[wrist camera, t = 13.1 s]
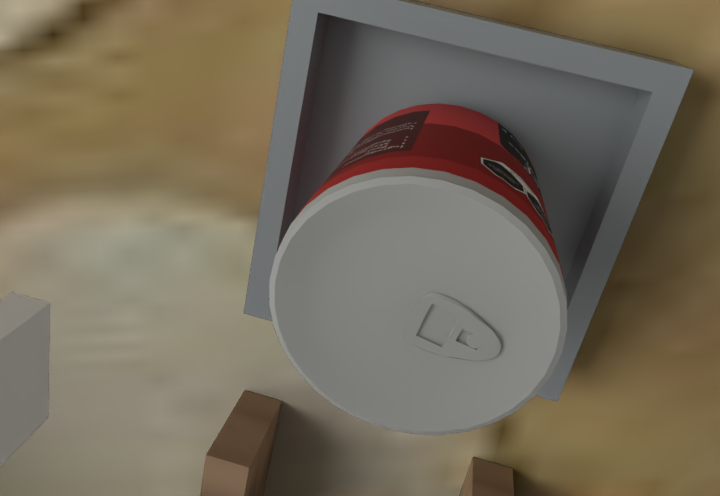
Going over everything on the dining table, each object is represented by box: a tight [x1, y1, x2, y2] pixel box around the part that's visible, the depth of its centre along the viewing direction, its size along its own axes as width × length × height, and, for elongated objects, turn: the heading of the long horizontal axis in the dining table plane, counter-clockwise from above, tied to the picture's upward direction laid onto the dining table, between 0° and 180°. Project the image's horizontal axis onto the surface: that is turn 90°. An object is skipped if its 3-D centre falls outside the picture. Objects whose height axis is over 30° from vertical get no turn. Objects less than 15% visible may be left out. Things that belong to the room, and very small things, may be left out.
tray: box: [244, 0, 694, 402], centre depth 26 cm, size 14×14×2 cm
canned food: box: [269, 103, 567, 435], centre depth 22 cm, size 8×8×11 cm
